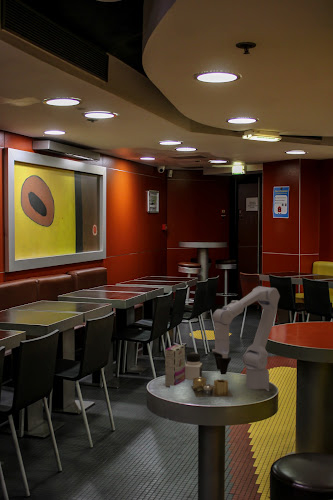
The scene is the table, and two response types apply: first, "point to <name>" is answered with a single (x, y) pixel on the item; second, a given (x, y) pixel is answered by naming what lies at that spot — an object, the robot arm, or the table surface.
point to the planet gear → (220, 387)
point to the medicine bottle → (193, 366)
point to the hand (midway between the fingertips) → (221, 371)
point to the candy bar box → (174, 365)
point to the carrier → (205, 388)
